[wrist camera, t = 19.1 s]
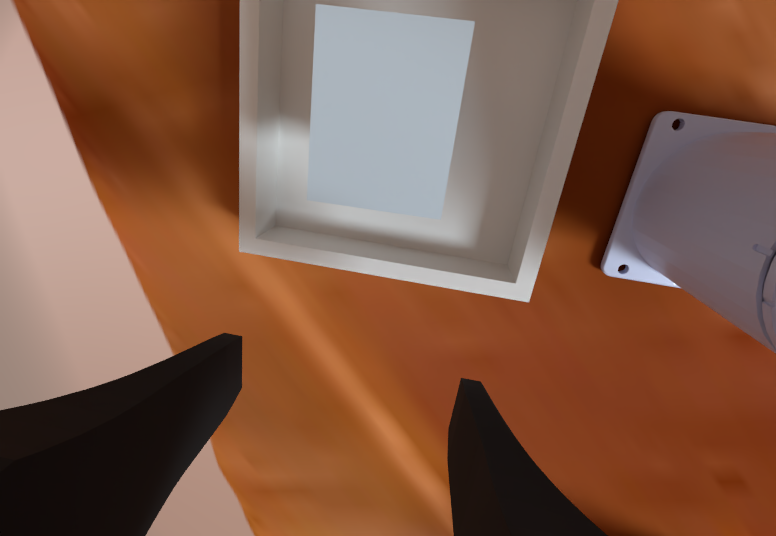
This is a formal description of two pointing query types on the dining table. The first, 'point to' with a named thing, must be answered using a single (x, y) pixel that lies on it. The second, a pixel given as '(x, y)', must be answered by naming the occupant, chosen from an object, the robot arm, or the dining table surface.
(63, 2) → the dining table surface
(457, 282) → the tote
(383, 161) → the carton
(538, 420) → the dining table surface
